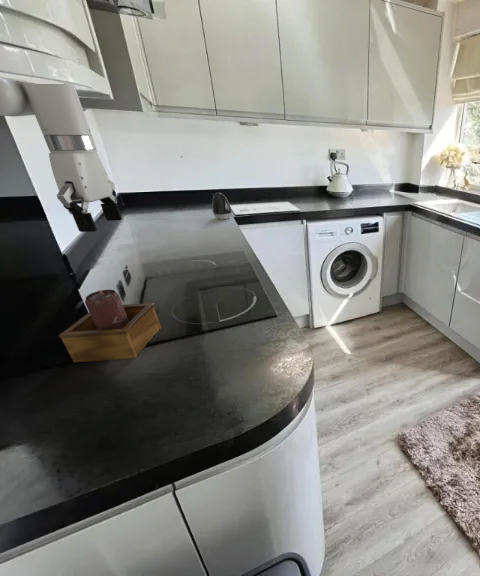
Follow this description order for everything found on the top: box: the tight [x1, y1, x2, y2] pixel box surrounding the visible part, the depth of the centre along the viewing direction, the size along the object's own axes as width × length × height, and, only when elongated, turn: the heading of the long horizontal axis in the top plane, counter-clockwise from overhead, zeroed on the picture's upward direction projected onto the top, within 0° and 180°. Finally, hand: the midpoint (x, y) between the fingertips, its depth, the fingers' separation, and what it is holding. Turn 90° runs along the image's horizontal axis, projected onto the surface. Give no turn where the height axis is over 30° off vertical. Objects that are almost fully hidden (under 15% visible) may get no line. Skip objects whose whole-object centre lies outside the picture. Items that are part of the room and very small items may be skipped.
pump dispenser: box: [211, 192, 233, 220], centre depth 190 cm, size 10×10×15 cm
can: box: [84, 289, 129, 330], centre depth 78 cm, size 6×6×14 cm
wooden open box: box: [57, 302, 162, 363], centre depth 79 cm, size 13×13×8 cm
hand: (102, 225), depth 75 cm, fingers open, 9 cm apart
